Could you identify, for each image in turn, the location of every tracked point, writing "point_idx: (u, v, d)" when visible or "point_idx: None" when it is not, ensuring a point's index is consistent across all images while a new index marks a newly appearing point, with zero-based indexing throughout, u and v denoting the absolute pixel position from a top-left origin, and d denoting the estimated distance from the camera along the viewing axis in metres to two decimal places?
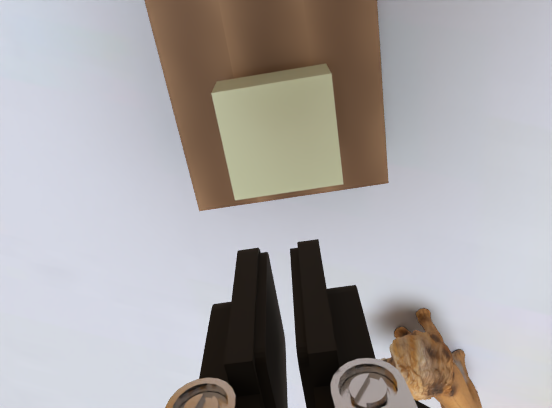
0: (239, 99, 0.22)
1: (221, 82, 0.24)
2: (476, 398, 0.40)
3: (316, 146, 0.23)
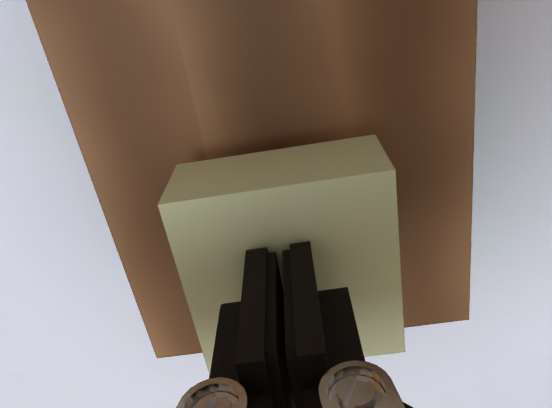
0: (214, 216, 0.12)
1: (183, 169, 0.13)
2: None
3: (359, 293, 0.13)
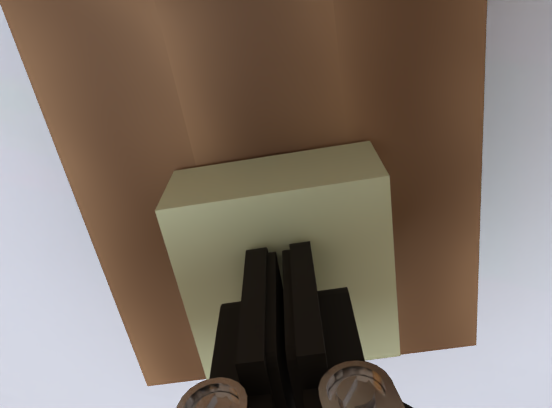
0: (210, 222, 0.12)
1: (181, 175, 0.13)
2: None
3: (354, 298, 0.13)
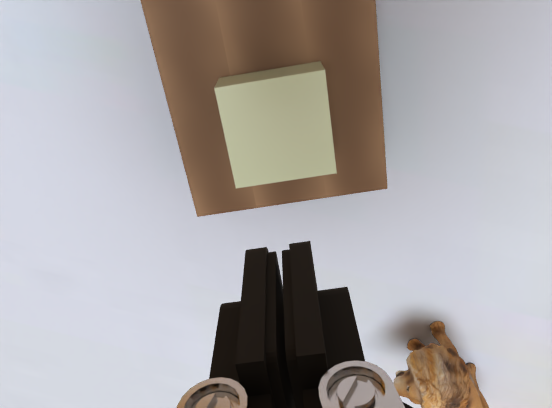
0: (240, 94, 0.24)
1: (223, 78, 0.26)
2: None
3: (311, 137, 0.25)
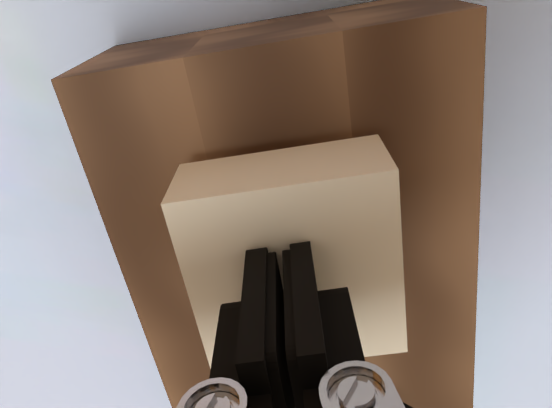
0: None
1: None
2: None
3: None
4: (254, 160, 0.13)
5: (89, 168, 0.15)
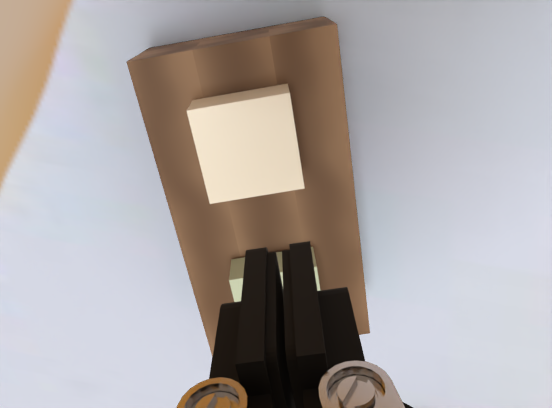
0: None
1: (235, 262, 0.32)
2: None
3: None
4: (228, 95, 0.27)
5: (143, 108, 0.28)
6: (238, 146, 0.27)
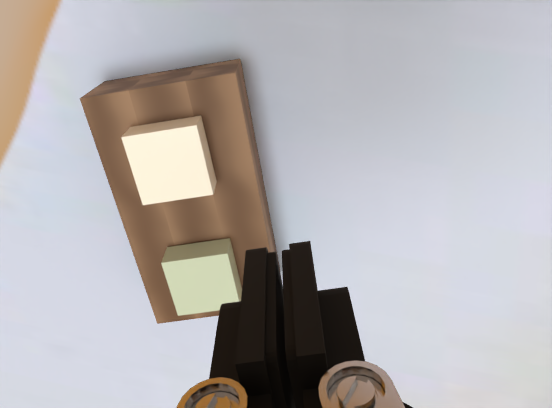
0: (177, 266, 0.40)
1: (169, 249, 0.42)
2: None
3: (222, 288, 0.41)
4: (156, 124, 0.36)
5: (93, 132, 0.38)
6: (161, 163, 0.36)
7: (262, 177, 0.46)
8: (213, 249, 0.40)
